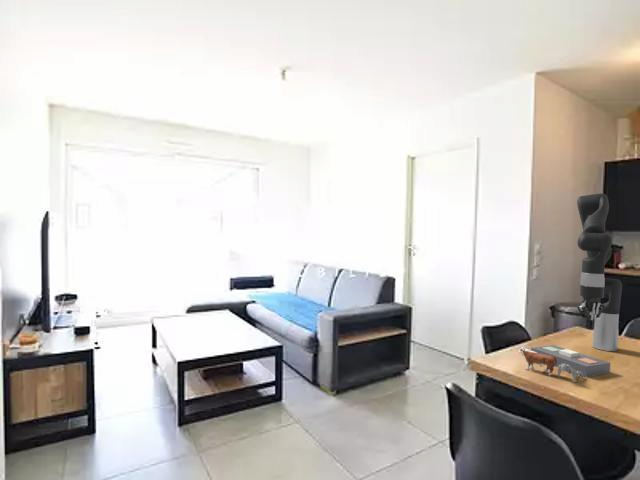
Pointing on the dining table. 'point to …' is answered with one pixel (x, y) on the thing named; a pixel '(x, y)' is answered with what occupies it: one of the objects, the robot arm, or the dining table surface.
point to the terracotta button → (587, 361)
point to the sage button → (551, 349)
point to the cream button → (569, 353)
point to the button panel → (576, 362)
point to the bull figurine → (538, 359)
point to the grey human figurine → (569, 371)
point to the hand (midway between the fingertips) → (589, 329)
